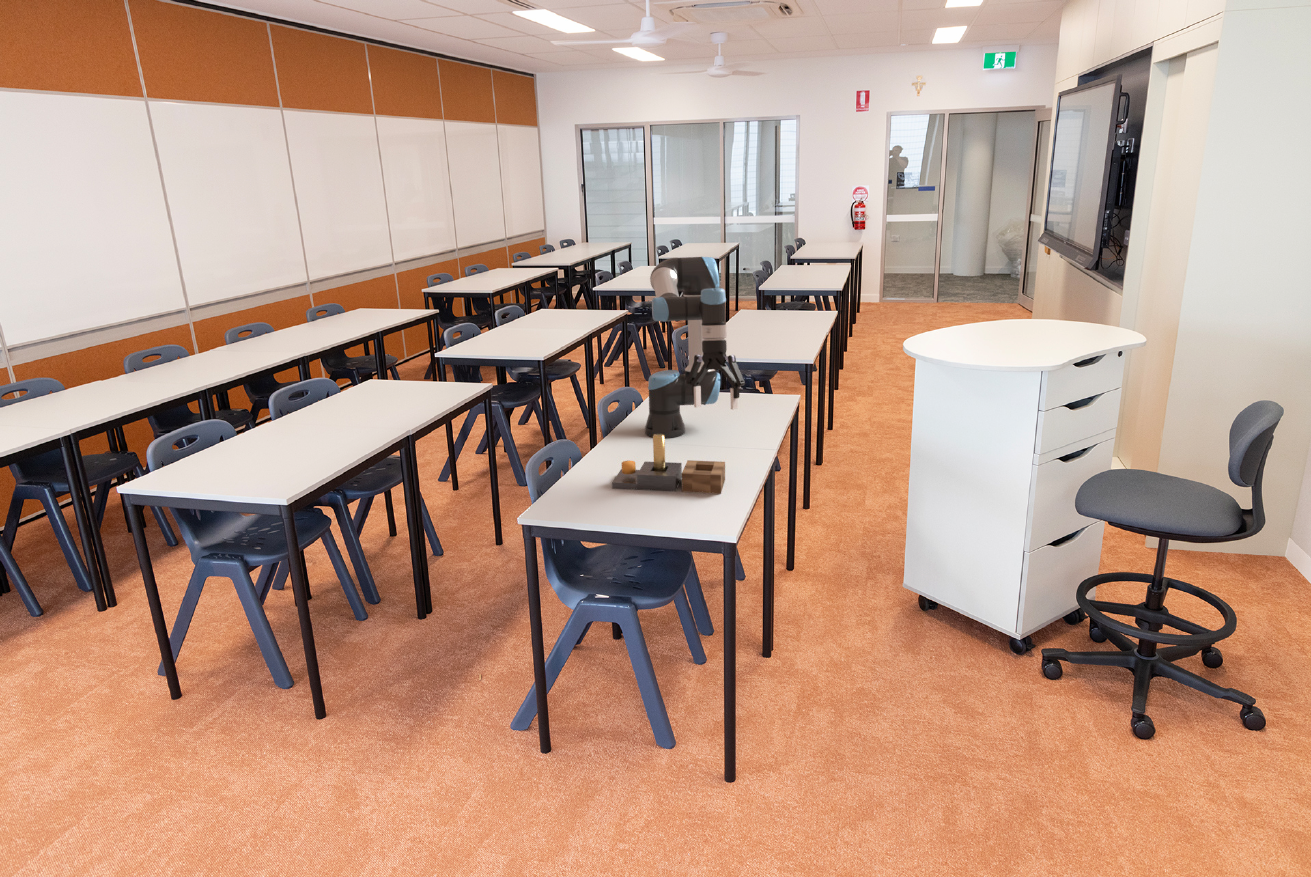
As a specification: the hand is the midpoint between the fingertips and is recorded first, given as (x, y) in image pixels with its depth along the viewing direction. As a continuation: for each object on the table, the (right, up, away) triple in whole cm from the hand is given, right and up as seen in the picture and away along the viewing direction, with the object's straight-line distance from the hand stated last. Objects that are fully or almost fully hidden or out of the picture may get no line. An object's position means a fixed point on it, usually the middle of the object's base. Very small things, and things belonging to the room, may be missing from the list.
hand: (715, 408), depth 247 cm
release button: (-27, -20, +4) cm, 34 cm away
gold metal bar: (-17, -24, +4) cm, 30 cm away
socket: (-21, -24, +4) cm, 32 cm away
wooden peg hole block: (-4, -24, +1) cm, 24 cm away
